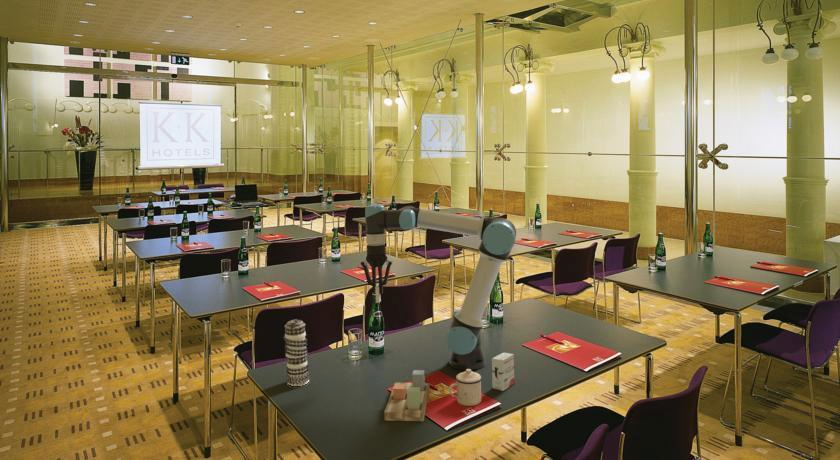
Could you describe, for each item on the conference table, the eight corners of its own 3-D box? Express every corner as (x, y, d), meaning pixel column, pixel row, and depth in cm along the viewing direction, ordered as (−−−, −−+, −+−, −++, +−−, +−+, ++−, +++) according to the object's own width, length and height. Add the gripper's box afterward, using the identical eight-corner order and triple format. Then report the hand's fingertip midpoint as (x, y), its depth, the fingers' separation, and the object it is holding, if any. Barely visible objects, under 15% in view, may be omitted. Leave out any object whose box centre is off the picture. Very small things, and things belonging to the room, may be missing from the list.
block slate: (424, 386, 206) (424, 370, 206) (423, 390, 203) (423, 374, 202) (414, 386, 207) (413, 370, 206) (412, 390, 203) (412, 374, 202)
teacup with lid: (475, 393, 205) (475, 363, 204) (485, 404, 197) (485, 372, 195) (445, 398, 202) (444, 368, 200) (454, 409, 193) (453, 377, 192)
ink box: (503, 380, 216) (503, 351, 215) (514, 383, 213) (514, 354, 212) (491, 388, 210) (491, 357, 208) (502, 391, 207) (502, 360, 205)
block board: (429, 390, 209) (429, 383, 209) (423, 421, 186) (423, 412, 185) (395, 390, 211) (395, 382, 210) (384, 420, 187) (384, 411, 187)
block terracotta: (406, 400, 200) (405, 384, 199) (404, 405, 196) (404, 388, 195) (395, 400, 200) (394, 384, 200) (393, 405, 197) (392, 388, 196)
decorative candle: (289, 378, 225) (285, 318, 222) (312, 377, 225) (309, 317, 221) (283, 387, 216) (279, 325, 212) (307, 387, 216) (303, 324, 212)
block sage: (420, 404, 192) (420, 387, 191) (419, 409, 188) (418, 392, 187) (409, 404, 192) (408, 387, 191) (407, 409, 188) (406, 392, 187)
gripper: (357, 245, 218) (360, 304, 222) (390, 245, 217) (392, 304, 220) (361, 242, 226) (364, 299, 229) (393, 242, 224) (395, 299, 228)
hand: (378, 301), depth 225 cm, fingers closed
